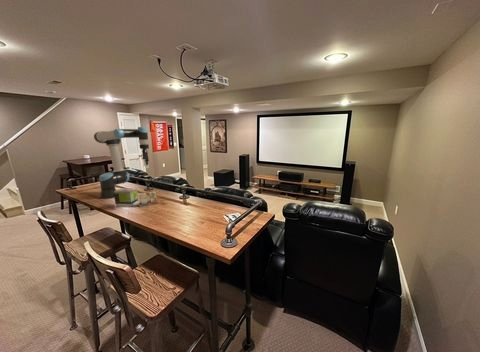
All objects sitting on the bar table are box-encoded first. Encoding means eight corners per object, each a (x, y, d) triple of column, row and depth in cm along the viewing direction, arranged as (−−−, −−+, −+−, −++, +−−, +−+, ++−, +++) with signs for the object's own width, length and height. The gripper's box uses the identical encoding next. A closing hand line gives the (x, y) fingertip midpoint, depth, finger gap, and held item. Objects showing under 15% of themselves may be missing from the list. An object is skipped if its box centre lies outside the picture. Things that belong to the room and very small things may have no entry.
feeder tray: (145, 201, 180) (144, 198, 180) (156, 199, 186) (156, 196, 185) (146, 204, 173) (146, 201, 172) (158, 202, 178) (158, 199, 178)
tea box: (139, 203, 174) (137, 188, 171) (131, 208, 164) (129, 191, 161) (123, 203, 175) (121, 187, 172) (115, 207, 166) (112, 191, 162)
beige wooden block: (155, 201, 174) (154, 191, 172) (156, 203, 171) (155, 192, 168) (150, 202, 172) (149, 192, 170) (151, 204, 168) (150, 193, 166)
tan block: (141, 204, 168) (139, 193, 166) (146, 203, 170) (145, 192, 168) (141, 206, 164) (140, 195, 162) (147, 205, 167) (146, 194, 164)
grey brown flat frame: (139, 205, 169) (138, 202, 168) (157, 202, 177) (156, 199, 177) (140, 209, 162) (139, 205, 161) (159, 205, 170) (158, 202, 169)
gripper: (137, 143, 185) (140, 165, 189) (141, 145, 164) (143, 169, 169) (146, 143, 189) (148, 164, 193) (150, 144, 168) (152, 168, 173)
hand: (146, 167), depth 181 cm, fingers open, 13 cm apart
